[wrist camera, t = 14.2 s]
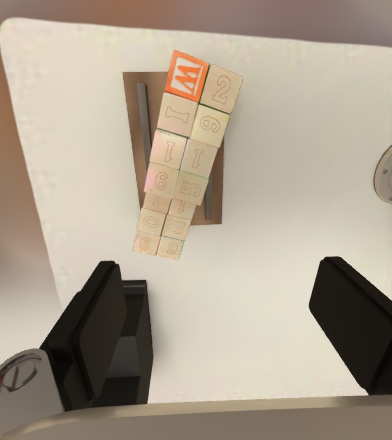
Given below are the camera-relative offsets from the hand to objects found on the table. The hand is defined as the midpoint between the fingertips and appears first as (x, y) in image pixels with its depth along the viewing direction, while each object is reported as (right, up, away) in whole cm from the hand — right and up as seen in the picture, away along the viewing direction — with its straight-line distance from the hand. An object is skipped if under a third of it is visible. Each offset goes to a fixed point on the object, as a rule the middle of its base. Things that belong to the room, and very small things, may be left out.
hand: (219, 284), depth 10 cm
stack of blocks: (-4, +11, +23) cm, 26 cm away
